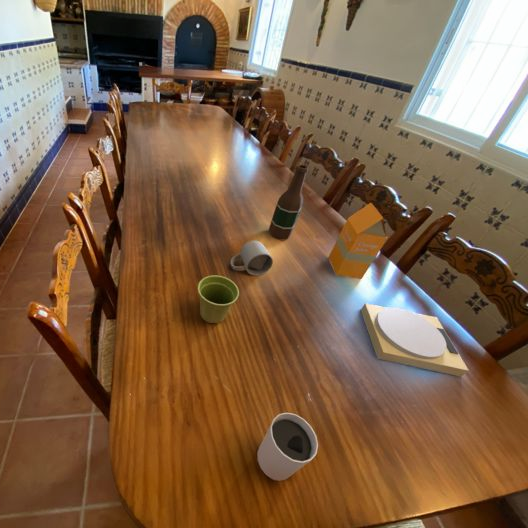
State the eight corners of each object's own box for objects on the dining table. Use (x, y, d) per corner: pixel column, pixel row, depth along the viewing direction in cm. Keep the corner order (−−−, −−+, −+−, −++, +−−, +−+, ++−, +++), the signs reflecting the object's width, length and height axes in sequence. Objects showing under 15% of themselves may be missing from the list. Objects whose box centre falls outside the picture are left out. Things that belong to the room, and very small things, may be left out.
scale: (430, 323, 75) (439, 314, 73) (461, 376, 64) (472, 368, 62) (360, 309, 77) (366, 300, 75) (377, 358, 66) (385, 349, 64)
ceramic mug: (259, 257, 91) (265, 237, 87) (269, 275, 85) (276, 254, 80) (226, 259, 90) (230, 238, 85) (234, 277, 84) (239, 255, 79)
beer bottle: (267, 237, 100) (290, 169, 85) (268, 226, 106) (288, 159, 91) (291, 242, 99) (318, 173, 84) (290, 230, 105) (315, 163, 90)
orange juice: (352, 260, 94) (385, 204, 81) (362, 279, 87) (399, 220, 74) (327, 257, 94) (356, 200, 82) (335, 275, 87) (367, 216, 75)
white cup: (296, 447, 51) (317, 422, 44) (294, 492, 46) (318, 471, 39) (257, 431, 52) (273, 405, 46) (251, 473, 47) (268, 450, 41)
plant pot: (239, 315, 73) (247, 290, 67) (215, 337, 67) (222, 311, 62) (209, 294, 78) (214, 270, 72) (185, 313, 72) (189, 288, 66)
